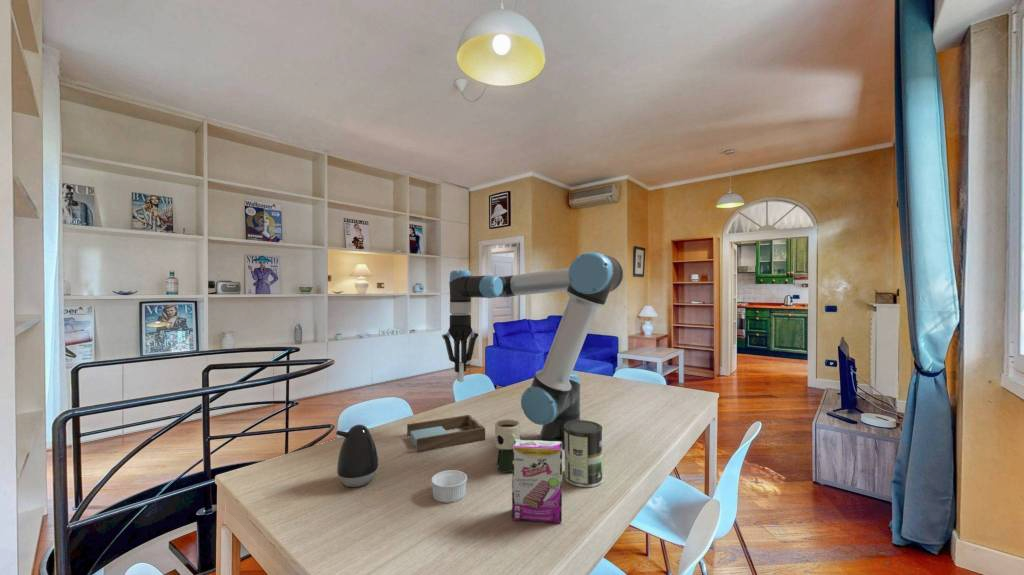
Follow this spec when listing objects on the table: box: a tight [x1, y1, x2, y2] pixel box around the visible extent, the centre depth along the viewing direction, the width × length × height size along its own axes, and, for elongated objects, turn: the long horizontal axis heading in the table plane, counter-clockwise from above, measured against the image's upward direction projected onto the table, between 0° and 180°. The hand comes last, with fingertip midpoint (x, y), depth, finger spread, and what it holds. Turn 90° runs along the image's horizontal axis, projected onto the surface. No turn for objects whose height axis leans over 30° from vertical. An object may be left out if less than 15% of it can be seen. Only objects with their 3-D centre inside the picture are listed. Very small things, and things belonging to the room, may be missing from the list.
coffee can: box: [564, 419, 604, 488], centre depth 105 cm, size 10×10×14 cm
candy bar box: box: [511, 439, 563, 524], centre depth 88 cm, size 11×5×16 cm, turn 84°
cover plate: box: [409, 426, 449, 449], centre depth 132 cm, size 10×11×3 cm
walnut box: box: [406, 414, 486, 453], centre depth 135 cm, size 16×23×4 cm
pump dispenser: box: [335, 424, 379, 488], centre depth 104 cm, size 10×10×15 cm
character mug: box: [494, 419, 521, 473], centre depth 111 cm, size 11×7×13 cm, turn 22°
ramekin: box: [430, 469, 468, 504], centre depth 97 cm, size 9×9×4 cm
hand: (460, 381), depth 137 cm, fingers closed
